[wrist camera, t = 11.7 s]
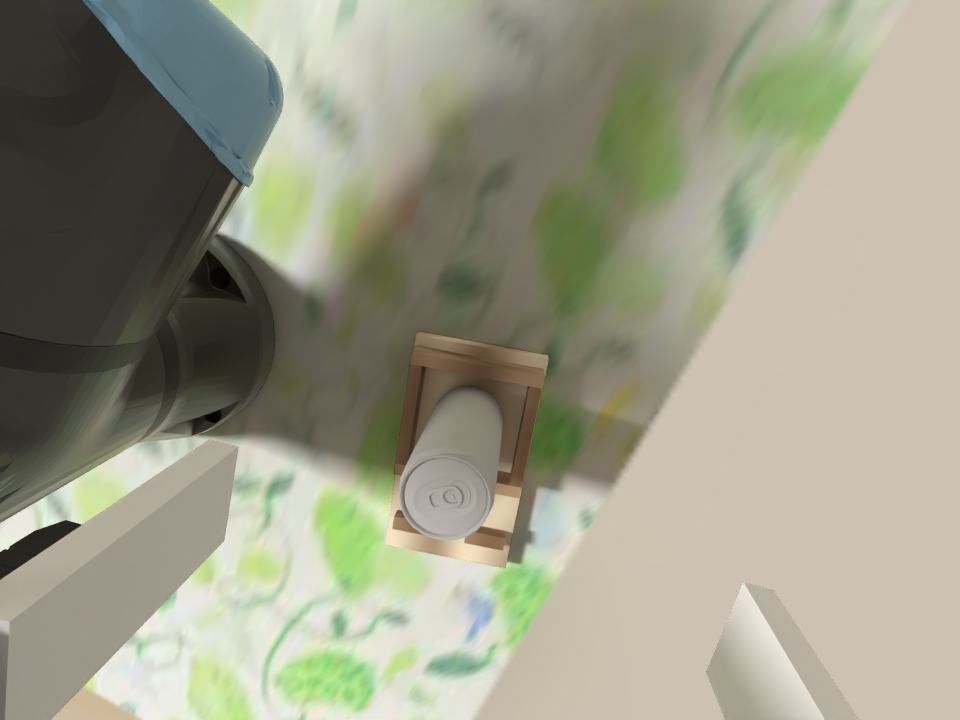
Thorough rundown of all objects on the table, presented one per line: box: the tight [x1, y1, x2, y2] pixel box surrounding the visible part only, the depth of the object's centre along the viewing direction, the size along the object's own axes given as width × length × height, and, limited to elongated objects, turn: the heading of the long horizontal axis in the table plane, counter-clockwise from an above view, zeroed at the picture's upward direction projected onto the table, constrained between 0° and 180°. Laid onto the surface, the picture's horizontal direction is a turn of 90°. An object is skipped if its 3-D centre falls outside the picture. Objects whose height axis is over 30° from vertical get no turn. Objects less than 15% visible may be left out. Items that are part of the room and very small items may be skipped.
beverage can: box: [399, 386, 503, 541], centre depth 34 cm, size 5×5×12 cm
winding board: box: [385, 332, 549, 568], centre depth 40 cm, size 9×16×3 cm, turn 170°
